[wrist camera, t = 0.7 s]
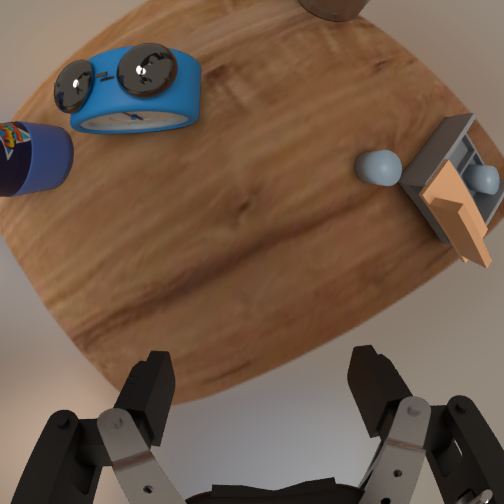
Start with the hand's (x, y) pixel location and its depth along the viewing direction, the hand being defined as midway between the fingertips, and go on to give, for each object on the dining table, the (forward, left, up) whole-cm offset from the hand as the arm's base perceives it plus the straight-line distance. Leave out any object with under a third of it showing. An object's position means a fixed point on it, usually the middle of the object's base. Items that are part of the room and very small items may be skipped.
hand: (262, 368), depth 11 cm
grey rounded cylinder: (-24, +25, -23) cm, 41 cm away
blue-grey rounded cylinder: (-15, +9, -24) cm, 29 cm away
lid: (-15, +20, -17) cm, 30 cm away
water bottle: (+1, -30, -24) cm, 39 cm away
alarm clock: (-10, -17, -24) cm, 31 cm away
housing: (-21, +22, -24) cm, 38 cm away
